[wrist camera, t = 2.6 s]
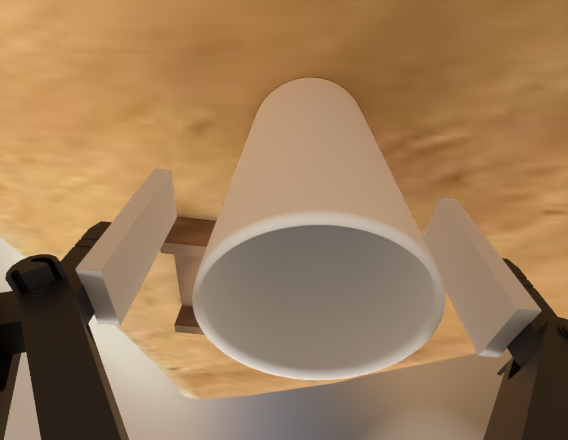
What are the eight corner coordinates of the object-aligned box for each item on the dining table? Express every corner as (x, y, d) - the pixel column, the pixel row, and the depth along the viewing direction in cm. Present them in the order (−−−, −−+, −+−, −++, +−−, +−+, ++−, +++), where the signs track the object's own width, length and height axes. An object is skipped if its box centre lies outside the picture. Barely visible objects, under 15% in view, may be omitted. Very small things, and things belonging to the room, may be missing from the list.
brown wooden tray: (348, 235, 29) (353, 262, 26) (325, 318, 36) (327, 346, 33) (173, 216, 28) (159, 242, 25) (185, 304, 36) (175, 331, 33)
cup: (239, 91, 22) (145, 240, 9) (360, 65, 20) (462, 195, 7) (267, 191, 26) (233, 386, 13) (367, 176, 25) (436, 374, 12)
